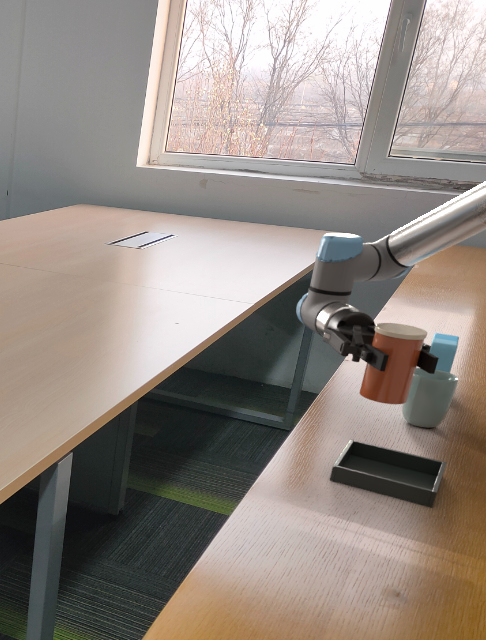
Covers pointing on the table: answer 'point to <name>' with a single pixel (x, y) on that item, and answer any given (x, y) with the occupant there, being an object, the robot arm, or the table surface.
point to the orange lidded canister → (393, 363)
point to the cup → (429, 398)
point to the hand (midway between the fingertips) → (409, 364)
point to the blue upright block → (444, 350)
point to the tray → (389, 472)
